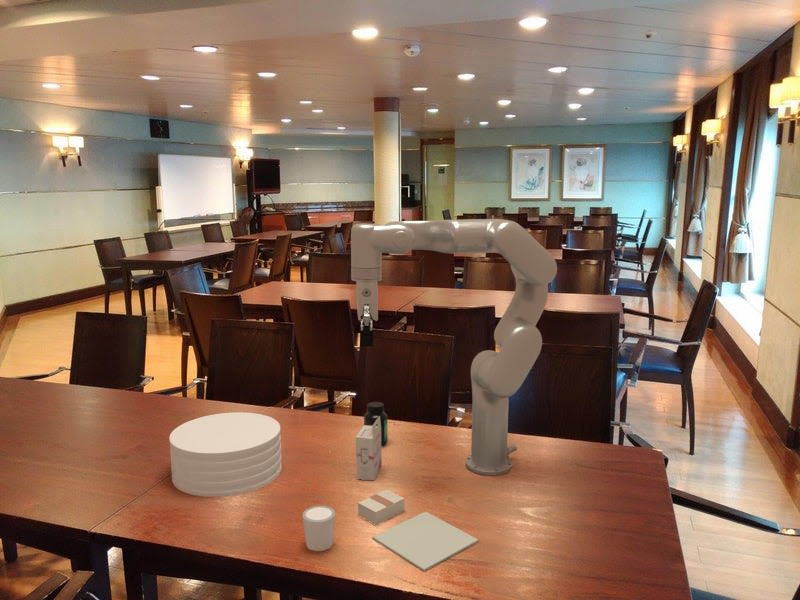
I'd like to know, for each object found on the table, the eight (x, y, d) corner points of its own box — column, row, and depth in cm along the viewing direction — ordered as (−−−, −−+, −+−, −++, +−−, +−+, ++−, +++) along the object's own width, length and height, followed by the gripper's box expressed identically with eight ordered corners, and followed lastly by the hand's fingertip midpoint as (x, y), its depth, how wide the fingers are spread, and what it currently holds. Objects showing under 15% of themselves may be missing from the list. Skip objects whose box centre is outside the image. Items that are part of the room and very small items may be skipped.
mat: (425, 513, 148) (425, 511, 148) (478, 541, 136) (478, 539, 136) (372, 538, 137) (372, 536, 137) (424, 571, 126) (424, 569, 125)
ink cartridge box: (364, 465, 173) (363, 413, 170) (381, 467, 172) (381, 415, 169) (355, 479, 165) (354, 425, 162) (374, 481, 164) (373, 427, 161)
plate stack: (303, 470, 170) (301, 430, 168) (208, 509, 150) (206, 463, 148) (243, 442, 189) (241, 405, 187) (152, 473, 169) (149, 432, 167)
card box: (386, 503, 153) (386, 488, 153) (404, 512, 149) (404, 497, 148) (358, 516, 147) (358, 501, 146) (375, 526, 143) (375, 511, 142)
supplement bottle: (392, 444, 187) (391, 405, 185) (372, 450, 183) (371, 410, 181) (379, 437, 193) (379, 399, 190) (359, 442, 189) (359, 403, 187)
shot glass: (304, 535, 138) (303, 505, 137) (336, 534, 139) (335, 504, 138) (302, 553, 132) (301, 522, 131) (335, 552, 132) (335, 520, 131)
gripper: (382, 279, 150) (382, 350, 153) (380, 269, 167) (380, 333, 170) (350, 279, 149) (350, 350, 152) (351, 269, 166) (352, 333, 169)
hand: (366, 341), depth 161 cm, fingers open, 9 cm apart
